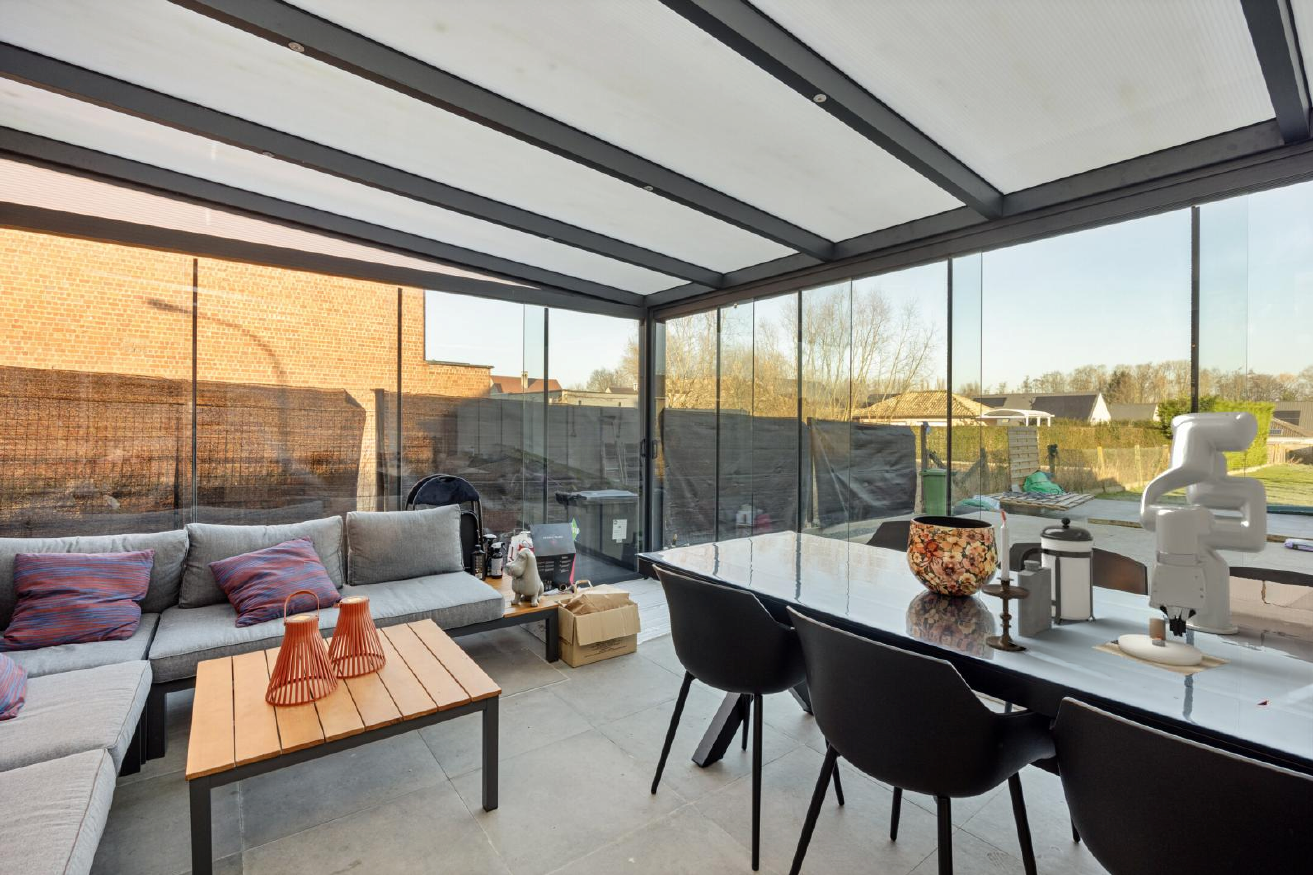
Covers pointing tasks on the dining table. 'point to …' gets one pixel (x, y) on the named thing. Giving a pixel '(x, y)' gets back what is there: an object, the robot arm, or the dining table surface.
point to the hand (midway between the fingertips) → (1177, 634)
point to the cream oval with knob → (1159, 646)
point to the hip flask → (1035, 599)
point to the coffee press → (1067, 569)
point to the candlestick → (1005, 596)
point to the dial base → (1181, 669)
